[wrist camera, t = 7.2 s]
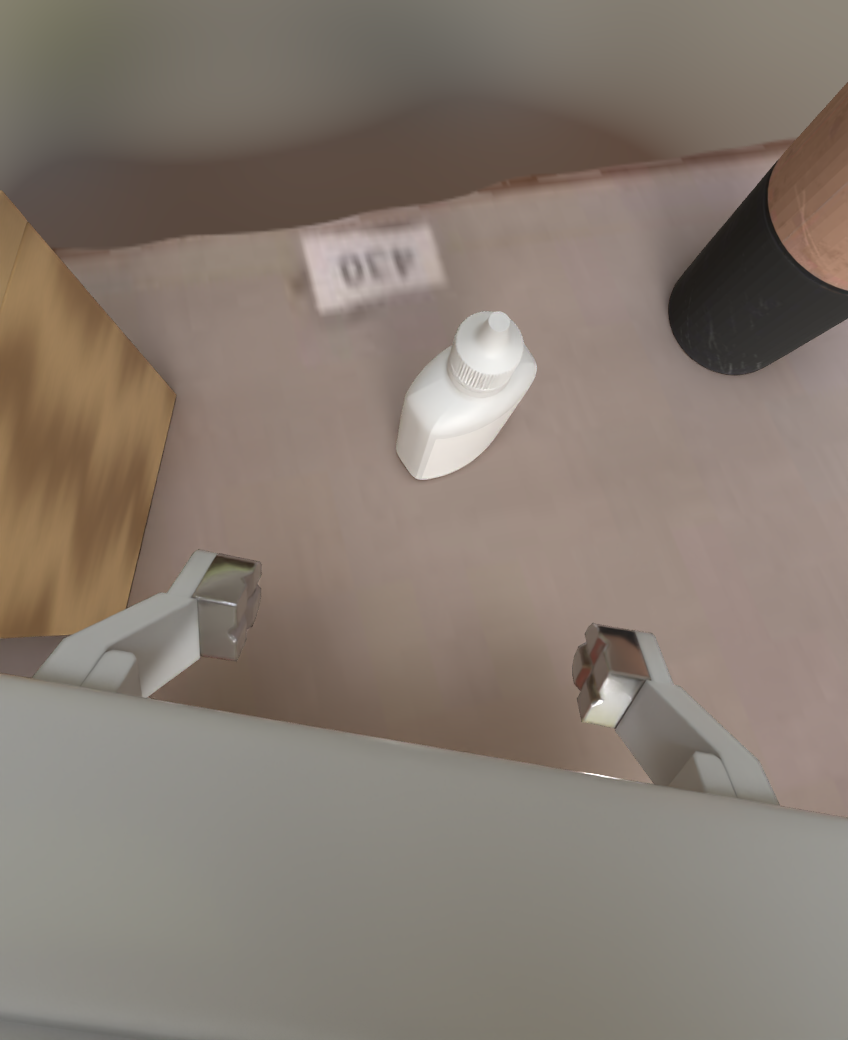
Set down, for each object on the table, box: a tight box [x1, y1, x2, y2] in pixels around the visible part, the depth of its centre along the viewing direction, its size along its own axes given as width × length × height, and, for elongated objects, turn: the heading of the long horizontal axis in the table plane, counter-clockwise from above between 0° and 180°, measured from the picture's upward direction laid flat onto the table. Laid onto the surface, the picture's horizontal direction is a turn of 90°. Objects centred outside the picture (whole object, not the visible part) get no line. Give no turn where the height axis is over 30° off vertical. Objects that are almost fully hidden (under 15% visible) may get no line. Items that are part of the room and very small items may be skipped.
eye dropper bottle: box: [396, 311, 537, 480], centre depth 24 cm, size 4×6×12 cm
